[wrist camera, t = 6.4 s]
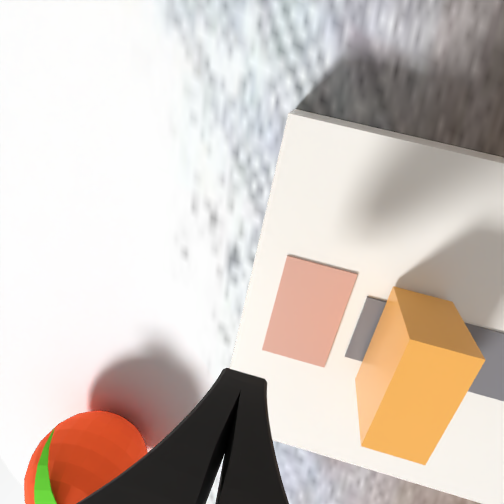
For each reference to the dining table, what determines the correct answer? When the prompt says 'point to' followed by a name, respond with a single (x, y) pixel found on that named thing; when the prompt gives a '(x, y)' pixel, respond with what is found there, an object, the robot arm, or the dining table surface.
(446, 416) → the handle
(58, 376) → the dining table surface
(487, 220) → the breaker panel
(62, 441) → the clementine
